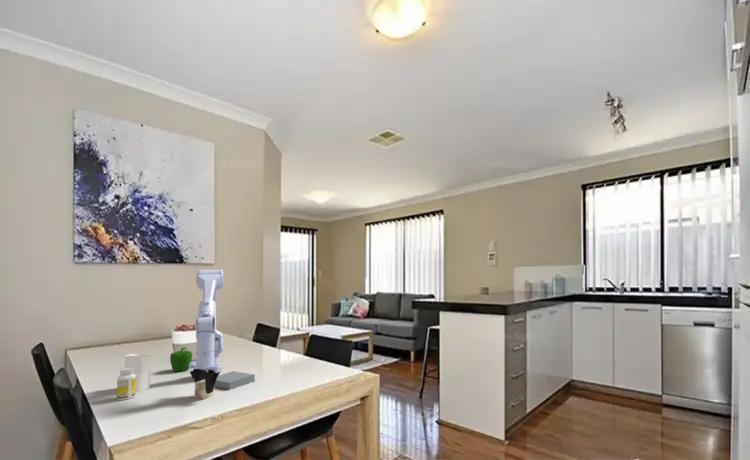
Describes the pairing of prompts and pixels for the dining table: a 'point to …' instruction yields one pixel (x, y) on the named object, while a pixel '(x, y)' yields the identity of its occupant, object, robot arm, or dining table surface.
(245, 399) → the dining table surface
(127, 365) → the base with upright slab
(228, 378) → the slate plinth
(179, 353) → the bell pepper
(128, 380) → the supplement bottle
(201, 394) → the ash block
